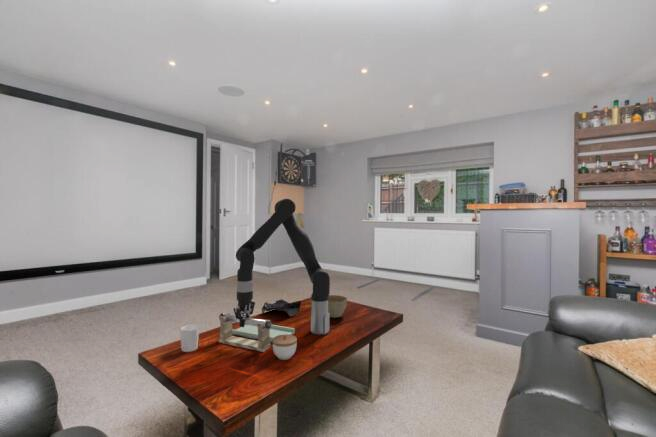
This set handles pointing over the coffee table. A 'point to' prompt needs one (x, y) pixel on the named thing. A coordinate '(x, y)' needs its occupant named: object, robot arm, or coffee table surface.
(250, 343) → the rack
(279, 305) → the grey mechanical device
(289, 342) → the lidded jar
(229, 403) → the coffee table surface
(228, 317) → the steel rod
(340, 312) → the planter bowl
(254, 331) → the mat tray
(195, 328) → the white cup
